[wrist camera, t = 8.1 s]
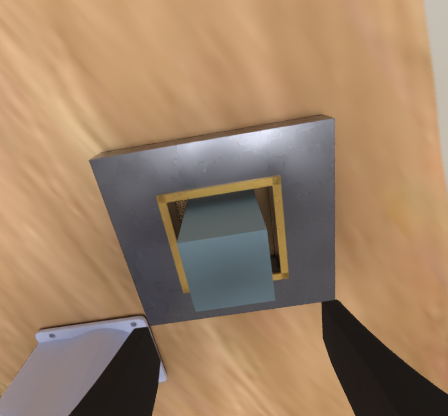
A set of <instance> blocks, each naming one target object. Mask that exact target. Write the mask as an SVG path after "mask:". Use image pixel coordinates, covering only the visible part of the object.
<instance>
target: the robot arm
mask: <svg viewBox="0 0 448 416" xmlns="http://www.w3.org/2000/svg"><path fill="white" fill-rule="evenodd" d="M133 322H135V323H133ZM322 328H323V340H324V343H325V346H326V349H327V352H328V355H329V358H330V361H331V363H332V366H333V368H334V370H335V372H336V375H337V377H338V379H339V381H340V383H341V386H342V388H343V390H344V392H345V394H346V396H347V398H348V401H349V403H350V405H351V407H352V409H353V411H354V414H355V416H448V394H446V393H445V392H444V391H442V390H441V389H439V388H438V387H437V386H435V385H434V384H433V383H431V382H430V381H429V380H427V379H426V378H424V377H423V376H422V375H421V374H419V373H418V372H417V371H415V370H414V369H413V368H412V367H410V366H409V365H408V364H407V363H405V362H404V361H403V360H402V359H401V358H399V357H398V356H397V355H396V354H395V353H393V352H392V351H391V350H390V349H389V348H388V347H386V346H385V345H384V344H383V343H382V342H381V341H380V340H379V339H378V338H376V337H375V336H374V335H373V334H372V333H371V332H370V331H369V330H368V329H367V328H366V327H365V326H363V325H362V324H361V323H360V322H359V321H358V320H357V319H356V318H355V317H354V316H353V315H352V314H351V313H350V312H349V311H348V310H347V309H346V308H345V307H344V306H343V305H342V303H341V302H340V301H338V300H330V301H323V302H322ZM35 338H36V339H37V341H38V345H37V346H36V348H35V349H34V351H33V352H32V353H31V355H30V356H29V358H28V359H27V361H26V362H25V363H24V365H23V366H22V368H21V369H20V371H19V372H18V374H17V375H16V376H15V378H14V379H13V381H12V382H11V384H10V385H9V386H8V388H7V389H6V391H5V392H4V394H3V395H2V397H1V398H0V416H152V412H153V407H154V403H155V398H156V394H157V389H158V383H161V382H164V381H166V379H167V374H166V371H165V369H164V366H163V363H162V361H161V358H160V355H159V353H158V350H157V347H156V344H155V342H154V339H153V336H152V334H151V331H150V328H149V326H148V323H147V320H146V318H145V317H143V316H135V317H128V318H121V319H114V320H107V321H100V322H93V323H86V324H78V325H71V326H64V327H57V328H50V329H43V330H39V331H38V332H37V333H36V334H35Z"/></svg>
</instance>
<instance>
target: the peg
mask: <svg viewBox="0 0 448 416" xmlns="http://www.w3.org/2000/svg"><path fill="white" fill-rule="evenodd" d="M177 247H178V250H179V254H180V258H181V261H182V265H183V269H184V272H185V276H186V280H187V283H188V287H189V290H190V294H191V298H192V301H193V305H194V309H195V312H199V311H206V310H213V309H219V308H226V307H233V306H240V305H247V304H254V303H261V302H268V301H275V293H274V284H273V276H272V268H271V259H270V251H269V242H268V234H267V228H266V225H265V222H264V219H263V216H262V213H261V210H260V208H259V205H258V202H257V199H256V196H255V193H254V190H253V189H248V190H242V191H236V192H230V193H223V194H217V195H211V196H205V197H199V198H192V199H188V202H187V206H186V210H185V214H184V217H183V221H182V225H181V229H180V233H179V237H178V240H177Z"/></svg>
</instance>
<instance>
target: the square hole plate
mask: <svg viewBox="0 0 448 416" xmlns="http://www.w3.org/2000/svg"><path fill="white" fill-rule="evenodd" d="M89 162H90V164H91V167H92V170H93V173H94V175H95V178H96V181H97V183H98V186H99V189H100V192H101V194H102V197H103V200H104V202H105V205H106V208H107V211H108V213H109V216H110V219H111V221H112V224H113V227H114V230H115V232H116V235H117V238H118V240H119V243H120V246H121V249H122V251H123V254H124V257H125V259H126V262H127V265H128V268H129V270H130V273H131V276H132V278H133V281H134V284H135V287H136V289H137V292H138V295H139V297H140V300H141V303H142V306H143V308H144V311H145V314H146V316H147V319H148V322H149V325H150V326H152V325H160V324H167V323H174V322H181V321H188V320H195V319H203V318H210V317H217V316H224V315H231V314H238V313H246V312H253V311H260V310H267V309H274V308H281V307H289V306H296V305H303V304H310V303H317V302H323V301H330V300H335V119H334V118H332V117H329V116H325V115H317V116H311V117H305V118H299V119H294V120H288V121H282V122H276V123H270V124H265V125H259V126H253V127H247V128H241V129H235V130H230V131H224V132H218V133H212V134H206V135H201V136H195V137H189V138H183V139H177V140H171V141H166V142H160V143H154V144H148V145H142V146H137V147H131V148H125V149H119V150H113V151H107V152H102V153H100V154H99V155H97V156H95V157H93V158H92V159H90V160H89ZM267 186H268V191H269V201H270V210H271V220H272V229H273V239H274V248H275V256H270V259H271V268H272V276H273V284H274V293H275V301H268V302H261V303H254V304H247V305H240V306H233V307H226V308H219V309H213V310H206V311H199V312H195V309H194V305H193V301H192V298H191V294H190V290H189V287H188V283H187V280H186V276H185V272H184V269H183V265H182V261H181V258H180V254H179V250H178V247H177V240H178V237H179V233H180V229H181V225H180V221H179V217H178V213H177V209H176V205H175V201H180V200H186V199H192V198H199V197H205V196H211V195H217V194H223V193H230V192H236V191H242V190H248V189H254V188H261V187H267Z"/></svg>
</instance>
